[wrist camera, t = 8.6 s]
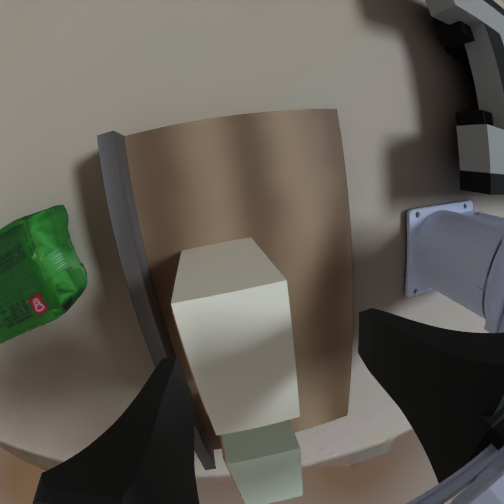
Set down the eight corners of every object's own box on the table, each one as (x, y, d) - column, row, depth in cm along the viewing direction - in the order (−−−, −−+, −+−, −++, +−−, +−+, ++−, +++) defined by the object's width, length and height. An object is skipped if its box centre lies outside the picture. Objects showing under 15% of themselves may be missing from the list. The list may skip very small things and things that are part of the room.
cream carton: (250, 236, 19) (286, 279, 11) (267, 341, 21) (300, 416, 13) (177, 251, 18) (164, 305, 11) (204, 354, 20) (211, 436, 13)
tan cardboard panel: (330, 111, 18) (354, 101, 15) (343, 409, 26) (357, 430, 23) (112, 142, 16) (94, 136, 13) (201, 444, 24) (203, 470, 21)
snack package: (-41, 267, 16) (-74, 286, 11) (71, 191, 17) (34, 199, 12) (-9, 334, 18) (-35, 362, 13) (110, 283, 19) (87, 317, 14)
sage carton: (270, 372, 22) (300, 447, 14) (279, 430, 24) (302, 494, 17) (212, 384, 21) (222, 464, 14) (231, 441, 24) (244, 508, 16)
